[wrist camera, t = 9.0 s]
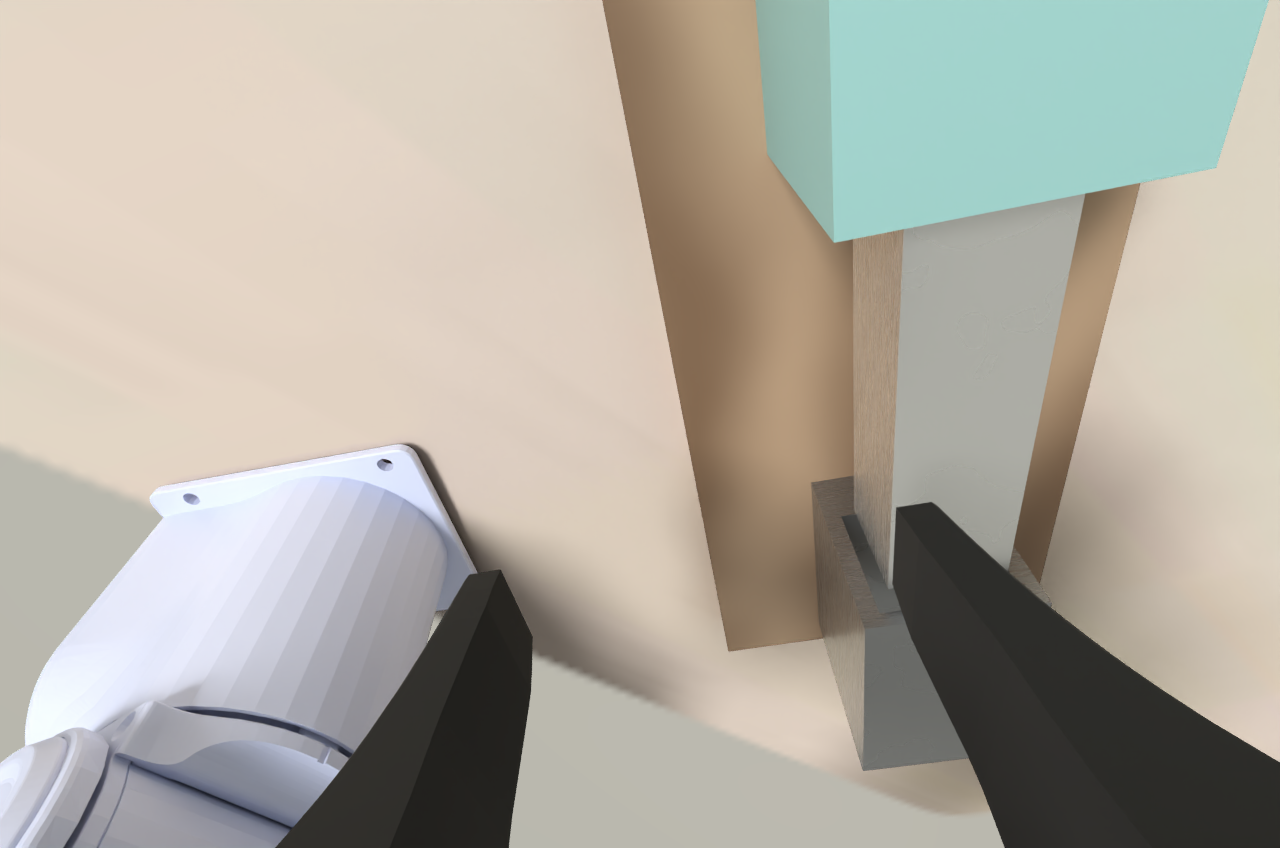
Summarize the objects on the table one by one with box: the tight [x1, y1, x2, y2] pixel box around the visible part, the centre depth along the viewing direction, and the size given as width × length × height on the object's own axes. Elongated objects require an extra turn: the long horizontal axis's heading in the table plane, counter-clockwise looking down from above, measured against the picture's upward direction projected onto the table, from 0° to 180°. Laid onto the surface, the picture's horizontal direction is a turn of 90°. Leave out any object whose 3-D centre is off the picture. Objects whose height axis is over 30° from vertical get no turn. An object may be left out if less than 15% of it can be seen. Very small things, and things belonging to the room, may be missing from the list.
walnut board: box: [602, 0, 1140, 651], centre depth 20 cm, size 12×24×2 cm, turn 11°
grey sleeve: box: [811, 476, 1052, 771], centre depth 21 cm, size 5×8×6 cm, turn 11°
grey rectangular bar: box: [853, 194, 1085, 589], centre depth 14 cm, size 3×13×3 cm, turn 11°
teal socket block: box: [755, 0, 1269, 243], centre depth 11 cm, size 6×4×6 cm
